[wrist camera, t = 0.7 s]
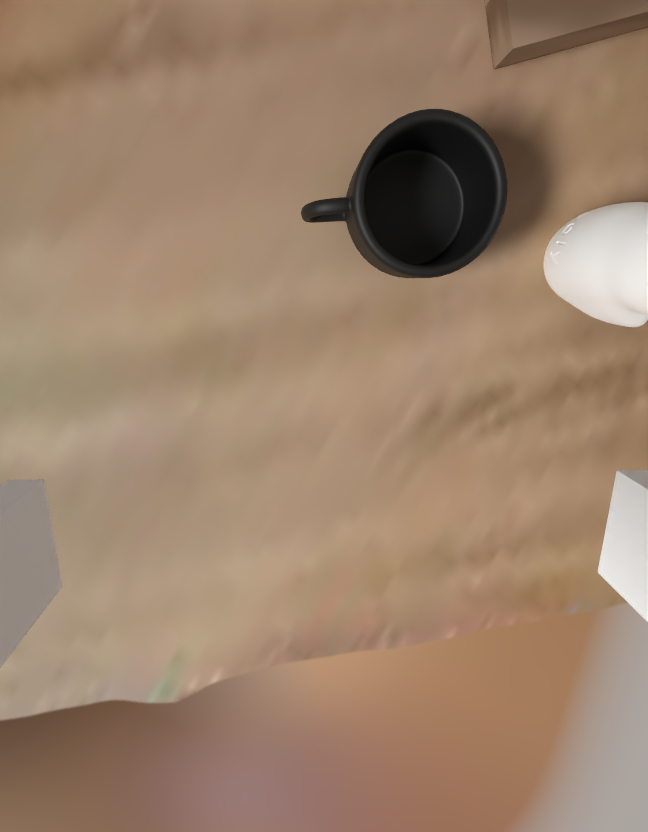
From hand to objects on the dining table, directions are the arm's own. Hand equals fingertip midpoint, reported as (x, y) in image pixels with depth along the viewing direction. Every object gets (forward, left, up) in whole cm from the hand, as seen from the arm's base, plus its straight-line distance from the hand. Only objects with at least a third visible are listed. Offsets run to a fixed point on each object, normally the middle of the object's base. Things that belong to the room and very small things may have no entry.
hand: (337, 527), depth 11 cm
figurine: (-1, +22, -27) cm, 35 cm away
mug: (-8, +8, -27) cm, 29 cm away
